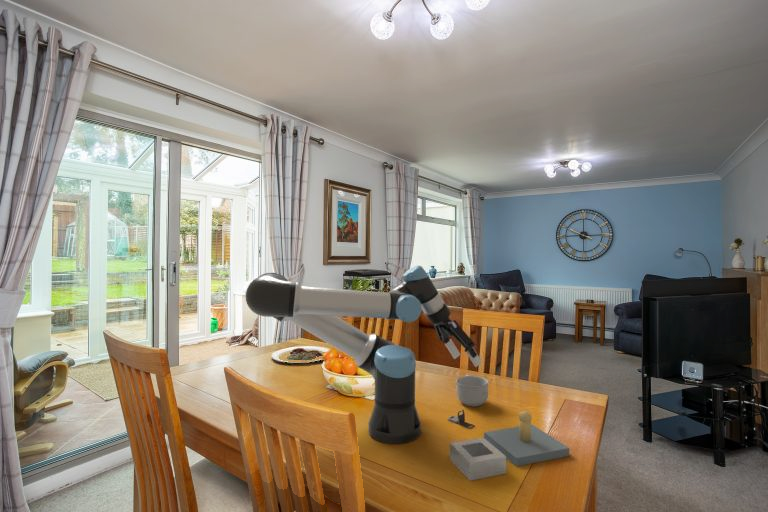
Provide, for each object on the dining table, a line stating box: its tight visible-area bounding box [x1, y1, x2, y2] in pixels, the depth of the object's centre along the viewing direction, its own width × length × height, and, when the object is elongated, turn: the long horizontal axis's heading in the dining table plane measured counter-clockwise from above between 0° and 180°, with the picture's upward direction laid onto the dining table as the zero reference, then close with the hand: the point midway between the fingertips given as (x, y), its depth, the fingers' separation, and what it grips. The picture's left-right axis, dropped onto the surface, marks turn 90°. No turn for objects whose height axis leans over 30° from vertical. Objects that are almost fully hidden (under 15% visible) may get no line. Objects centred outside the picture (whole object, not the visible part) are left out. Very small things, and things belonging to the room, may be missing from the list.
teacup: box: [455, 374, 489, 408], centre depth 133 cm, size 14×11×8 cm
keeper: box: [483, 410, 570, 467], centre depth 101 cm, size 16×14×10 cm
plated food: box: [271, 345, 331, 364], centre depth 189 cm, size 30×30×3 cm
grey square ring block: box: [449, 437, 507, 481], centre depth 92 cm, size 10×10×4 cm
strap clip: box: [447, 409, 476, 430], centre depth 116 cm, size 8×3×4 cm, turn 43°
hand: (467, 360), depth 129 cm, fingers open, 13 cm apart
